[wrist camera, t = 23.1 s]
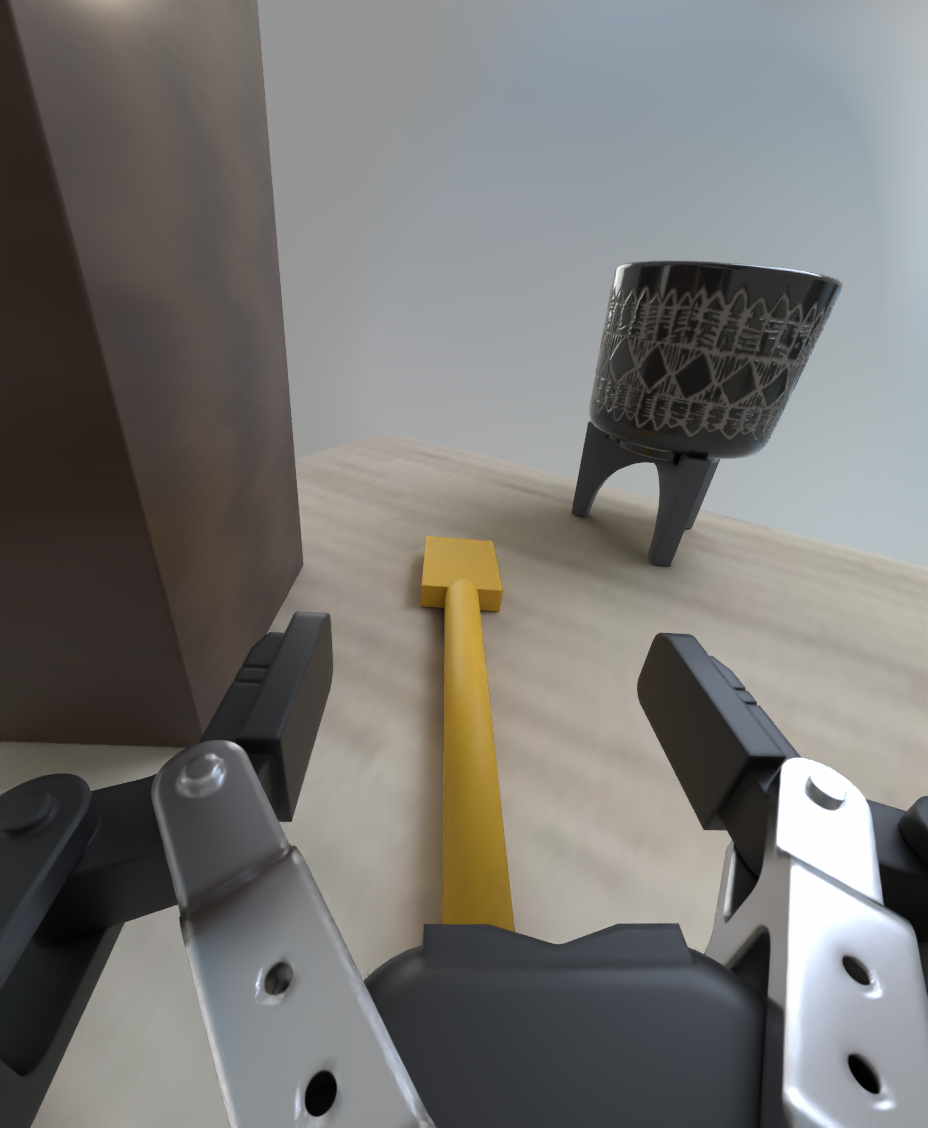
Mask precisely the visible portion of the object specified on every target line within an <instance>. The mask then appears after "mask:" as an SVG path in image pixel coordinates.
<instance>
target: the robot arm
mask: <svg viewBox="0 0 928 1128" xmlns="http://www.w3.org/2000/svg"><path fill="white" fill-rule="evenodd" d="M332 674H333V654H332V635H331V619H330V615H329V613H312V612H295V614H294V615H293V617H292V619H291V621H290V623H289V626H288V628H287V630H286V632H285V633H275V632H269V633H268V634H267V635H266V636H265V637H263V638H262V639H261V640H260V641H258V642H257V643H256V644H255V645H253V646H252V648H251V649H250V651H249V653H248V655H247V657H246V658H245V660H244V662H243V664H242V668H240V669H239V671H238V673H237V674H236V676H235V678H234V683H233V682H232V683H231V685H230V687H229V689H228V691H227V692H226V694H225V696H224V698H223V700H222V701H221V703H220V705H219V707H218V709H217V710H216V712H215V714H214V716H213V717H212V719H211V721H210V723H209V725H208V726H207V728H206V730H205V732H204V734H203V735H202V737H201V739H200V740H199V742H198V743H197V744H196V745H193V746H190V747H188V748H186V749H184V750H183V751H181V752H179V753H178V754H176V755H175V756H174V757H172V758H171V759H170V760H169V761H168V762H167V763H166V764H165V765H164V766H163V767H162V768H161V769H160V771H159V772H158V774H155V775H153V776H150V777H147V778H143V779H140V780H136V781H131V782H127V783H123V784H119V785H115V786H111V787H106V788H102V789H98V790H94V791H91V790H90V788H89V786H88V785H87V783H86V782H85V781H84V780H83V779H82V778H80V777H78V776H76V775H72V774H51V775H46V776H42V777H39V778H35V779H32V780H30V781H27V782H25V783H22V784H20V785H18V786H16V787H14V788H12V789H10V790H9V791H7V792H6V793H4V794H2V795H1V796H0V1128H30V1127H31V1125H32V1123H33V1121H34V1119H35V1116H36V1114H37V1112H38V1110H39V1108H40V1106H41V1103H42V1101H43V1099H44V1097H45V1095H46V1092H47V1090H48V1088H49V1086H50V1084H51V1082H52V1079H53V1077H54V1075H55V1073H56V1071H57V1069H58V1066H59V1064H60V1062H61V1060H62V1058H63V1056H64V1053H65V1051H66V1049H67V1047H68V1045H69V1042H70V1040H71V1038H72V1036H73V1034H74V1032H75V1029H76V1027H77V1025H78V1023H79V1021H80V1019H81V1016H82V1014H83V1012H84V1010H85V1008H86V1006H87V1003H88V1001H89V999H90V997H91V995H92V992H93V990H94V988H95V986H96V984H97V982H98V979H99V977H100V975H101V973H102V971H103V969H104V966H105V964H106V962H107V960H108V958H109V956H110V953H111V951H112V949H113V947H114V945H115V943H116V940H117V938H118V936H119V934H120V932H121V929H122V927H123V925H124V923H125V922H127V921H130V920H133V919H136V918H139V917H142V916H145V915H148V914H151V913H154V912H157V911H160V910H163V909H166V908H169V907H172V906H175V905H177V904H178V905H179V909H180V915H181V916H180V918H179V919H180V926H181V931H182V935H183V940H184V944H185V948H186V952H187V956H188V960H189V964H190V968H191V972H192V976H193V980H194V984H195V988H196V992H197V996H198V1000H199V1004H200V1008H201V1012H202V1016H203V1020H204V1024H205V1028H206V1032H207V1036H208V1040H209V1044H210V1048H211V1052H212V1056H213V1060H214V1064H215V1068H216V1072H217V1076H218V1080H219V1084H220V1088H221V1092H222V1096H223V1100H224V1104H225V1108H226V1112H227V1116H228V1120H229V1124H230V1128H928V796H925V797H921V798H920V799H918V800H917V801H916V802H915V803H914V804H913V805H912V806H911V807H910V809H909V810H908V811H904V810H900V809H897V808H894V807H890V806H887V805H884V804H880V803H877V802H874V801H870V800H867V799H865V798H864V797H863V795H862V794H861V793H860V792H859V790H858V789H857V788H856V787H855V786H854V785H853V784H852V783H851V782H849V781H848V780H847V779H846V778H845V777H843V776H842V775H840V774H839V773H837V772H836V771H834V770H833V769H831V768H829V767H827V766H825V765H823V764H821V763H818V762H816V761H813V760H809V759H804V758H801V757H800V755H799V754H798V753H797V752H796V750H795V749H794V748H793V747H792V745H791V744H790V743H789V742H788V740H787V739H786V738H785V737H784V735H783V734H782V733H781V732H780V730H779V729H778V728H777V727H776V725H775V724H774V723H773V722H772V720H771V719H770V718H769V717H768V715H767V714H766V713H765V712H764V710H763V709H762V708H761V707H760V706H757V704H756V703H757V702H756V700H755V699H754V698H753V697H752V695H751V694H750V693H749V692H748V691H745V687H744V685H743V684H742V683H741V682H740V681H739V679H738V678H737V677H736V676H735V674H734V673H733V672H732V671H731V670H730V669H729V668H727V667H726V666H725V665H723V664H722V663H721V662H719V661H718V660H717V659H716V658H714V657H713V656H709V655H708V654H707V652H706V651H705V650H704V649H703V647H702V646H701V645H700V643H699V642H698V641H697V639H696V638H695V637H694V636H692V635H690V634H674V633H659V634H657V635H656V636H655V638H654V640H653V642H652V645H651V647H650V650H649V652H648V655H647V658H646V660H645V663H644V665H643V668H642V671H641V673H640V676H639V679H638V684H637V692H638V698H639V702H640V704H641V706H642V708H643V710H644V712H645V714H646V716H647V718H648V720H649V722H650V724H651V726H652V728H653V730H654V732H655V734H656V736H657V738H658V740H659V742H660V744H661V746H662V748H663V750H664V752H665V754H666V756H667V758H668V760H669V762H670V764H671V766H672V768H673V770H674V772H675V774H676V776H677V778H678V780H679V782H680V784H681V786H682V788H683V790H684V792H685V793H686V795H687V797H688V799H689V801H690V803H691V805H692V807H693V809H694V811H695V813H696V815H697V817H698V819H699V821H700V823H701V825H702V827H703V829H704V830H727V831H728V833H729V835H730V837H731V838H732V840H731V842H730V843H729V845H728V846H727V849H726V854H725V860H724V866H723V873H722V879H721V885H720V891H719V897H718V903H717V909H716V915H715V922H714V927H713V932H712V935H711V938H710V941H709V944H708V946H707V948H706V950H705V952H704V954H702V953H700V952H698V951H696V950H694V949H691V948H689V947H687V944H686V942H685V939H684V936H683V934H682V931H681V929H680V926H679V923H678V924H616V925H614V926H611V927H608V928H605V929H603V930H600V931H597V932H595V933H592V934H589V935H586V936H584V937H581V938H578V939H575V940H573V941H570V942H567V943H564V944H552V943H548V942H545V941H542V940H538V939H535V938H532V937H529V936H526V935H522V934H519V933H516V932H513V931H509V930H506V929H503V928H500V927H496V926H493V925H490V924H424V930H423V938H422V945H420V946H418V947H415V948H412V949H409V950H407V951H405V952H403V953H401V954H399V955H397V956H395V957H393V958H391V959H390V960H388V961H387V962H386V963H384V964H383V965H381V966H380V967H379V968H377V969H376V970H375V971H374V972H372V973H371V974H370V975H369V976H368V977H367V978H366V979H365V980H364V981H363V980H362V977H361V975H360V973H359V971H358V969H357V967H356V965H355V963H354V961H353V959H352V957H351V955H350V953H349V951H348V949H347V946H346V944H345V942H344V940H343V938H342V936H341V934H340V932H339V930H338V928H337V926H336V924H335V922H334V920H333V918H332V916H331V913H330V911H329V909H328V907H327V905H326V903H325V901H324V899H323V897H322V895H321V893H320V891H319V889H318V887H317V885H316V882H315V880H314V878H313V876H312V874H311V872H310V870H309V868H308V866H307V864H306V862H305V860H304V858H303V856H302V855H301V853H300V851H299V850H298V849H297V847H296V846H291V845H290V844H289V842H288V840H287V838H286V836H285V834H284V832H283V830H282V828H281V826H280V824H279V822H292V818H293V815H294V811H295V808H296V804H297V801H298V798H299V794H300V791H301V787H302V784H303V780H304V777H305V774H306V770H307V767H308V763H309V760H310V756H311V753H312V749H313V746H314V743H315V739H316V736H317V732H318V729H319V725H320V722H321V719H322V715H323V712H324V708H325V705H326V701H327V698H328V695H329V691H330V687H331V682H332Z"/></svg>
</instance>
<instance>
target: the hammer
mask: <svg viewBox="0 0 928 1128" xmlns="http://www.w3.org/2000/svg"><path fill="white" fill-rule="evenodd" d="M502 594H503V589H502V584H501V578H500V573H499V568H498V563H497V558H496V553H495V548H494V543H493V541H485V540H472V539H459V538H447V537H434V536H426V540H425V551H424V562H423V572H422V583H421V597H420V606H425V607H440V608H445V648H444V765H443V881H442V924H490V925H493V926H496V927H500V928H503V929H506V930H509V931H513V932H515V930H514V921H513V912H512V903H511V893H510V884H509V875H508V865H507V856H506V847H505V838H504V828H503V819H502V810H501V800H500V791H499V782H498V773H497V763H496V754H495V745H494V736H493V726H492V717H491V708H490V698H489V689H488V680H487V671H486V661H485V652H484V643H483V634H482V624H481V615H480V610H485V611H500V605H501V600H502Z"/></svg>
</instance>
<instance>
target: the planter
mask: <svg viewBox="0 0 928 1128" xmlns="http://www.w3.org/2000/svg"><path fill="white" fill-rule="evenodd" d="M842 288H843V283H842V282H841V281H839V280H838V279H835V278H832V277H829V276H825V275H821V274H816V273H811V272H805V271H799V270H792V269H785V268H776V267H768V266H758V265H747V264H734V263H719V262H700V261H698V262H697V261H645V262H632V263H626V264H622V265H619V266H618V267H617V268H616V269H615V271H614V275H613V281H612V286H611V292H610V297H609V303H608V308H607V314H606V319H605V325H604V330H603V336H602V341H601V346H600V352H599V358H598V363H597V368H596V374H595V379H594V385H593V390H592V396H591V401H590V407H589V416H590V420H591V421H590V422H588V427H587V432H586V438H585V443H584V448H583V454H582V459H581V464H580V470H579V475H578V481H577V486H576V491H575V497H574V502H573V507H572V514H575V515H578V516H581V517H584V516H586V515H587V514H588V513H589V511H590V509H591V506H592V504H593V501H594V499H595V496H596V494H597V493H598V491H599V489H600V488H601V486H602V485H603V483H604V482H605V481H606V480H607V479H608V478H609V477H610V476H611V475H612V474H613V473H614V472H616V471H617V470H619V469H621V468H624V467H626V466H629V465H631V464H635V463H642V462H649V463H655V465H656V467H657V470H658V475H659V485H660V486H659V487H660V496H659V508H658V515H657V521H656V526H655V531H654V535H653V539H652V542H651V546H650V549H649V553H648V559H649V560H650V562H651V563H652V564H654V565H662V566H670V565H671V562H672V560H673V557H674V555H675V553H676V550H677V548H678V545H679V543H680V540H681V538H682V535H683V533H684V530H685V529H687V528H692V526H693V524H694V521H695V519H696V517H697V514H698V512H699V509H700V507H701V505H702V502H703V500H704V497H705V495H706V492H707V490H708V487H709V485H710V483H711V480H712V478H713V476H714V473H715V471H716V468H717V466H718V463H719V461H720V459H737V458H744V457H748V456H751V455H754V454H756V453H758V452H759V451H760V450H761V449H763V447H764V446H765V445H766V444H767V443H768V441H769V439H770V437H771V435H772V433H773V431H774V429H775V427H776V425H777V423H778V421H779V419H780V416H781V415H782V413H783V411H784V409H785V406H786V404H787V402H788V400H789V398H790V396H791V394H792V392H793V390H794V388H795V386H796V384H797V382H798V379H799V377H800V375H801V373H802V371H803V369H804V367H805V365H806V363H807V361H808V359H809V357H810V355H811V353H812V351H813V349H814V347H815V345H816V343H817V340H818V338H819V336H820V334H821V332H822V330H823V328H824V326H825V324H826V322H827V319H828V318H829V316H830V314H831V312H832V310H833V307H834V305H835V303H836V301H837V299H838V297H839V295H840V293H841V291H842Z"/></svg>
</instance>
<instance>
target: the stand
mask: <svg viewBox="0 0 928 1128" xmlns="http://www.w3.org/2000/svg"><path fill="white" fill-rule="evenodd" d="M291 420H292V419H291V408H290V395H289V383H288V371H287V359H286V346H285V334H284V323H283V311H282V297H281V287H280V273H279V261H278V249H277V237H276V224H275V212H274V200H273V188H272V176H271V164H270V152H269V139H268V127H267V115H266V102H265V91H264V78H263V66H262V53H261V41H260V29H259V17H258V5H257V0H0V741H32V742H64V743H95V744H127V745H158V746H193V745H196V744H197V743H198V742H199V740H200V739H201V737H202V735H203V734H204V732H205V730H206V728H207V726H208V725H209V723H210V721H211V719H212V717H213V716H214V714H215V712H216V710H217V709H218V707H219V705H220V703H221V701H222V700H223V698H224V696H225V694H226V692H227V691H228V689H229V687H230V685H231V683H232V682H233V683H234V678H235V676H236V674H237V673H238V671H239V669H240V668H242V664H243V662H244V660H245V658H246V657H247V655H248V653H249V651H250V649H251V648H252V646H253V645H255V644H256V643H257V642H258V641H260V640H261V639H262V638H263V637H265V635H266V633H267V631H268V629H269V627H270V626H271V624H272V622H273V620H274V618H275V616H276V614H277V613H278V611H279V609H280V607H281V605H282V603H283V601H284V600H285V598H286V596H287V594H288V592H289V590H290V588H291V587H292V585H293V583H294V581H295V579H296V577H297V576H298V574H299V572H300V570H301V568H302V566H303V554H302V541H301V529H300V517H299V505H298V493H297V480H296V468H295V456H294V444H293V432H292V421H291Z"/></svg>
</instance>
